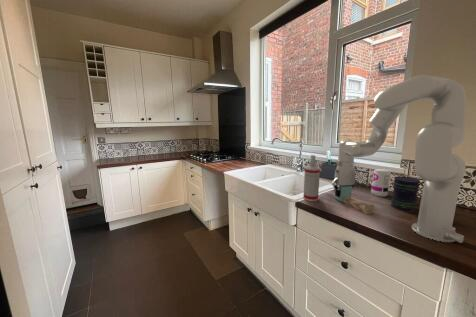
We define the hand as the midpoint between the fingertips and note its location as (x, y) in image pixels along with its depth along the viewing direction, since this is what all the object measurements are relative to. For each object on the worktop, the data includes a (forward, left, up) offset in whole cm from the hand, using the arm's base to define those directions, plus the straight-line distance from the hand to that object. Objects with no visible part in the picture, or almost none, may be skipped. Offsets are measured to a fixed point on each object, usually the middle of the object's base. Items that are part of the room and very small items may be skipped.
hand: (342, 195), depth 114 cm
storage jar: (-16, -22, -3) cm, 27 cm away
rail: (-6, 0, -3) cm, 7 cm away
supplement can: (+2, -27, -3) cm, 27 cm away
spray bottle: (+6, +16, -3) cm, 17 cm away
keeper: (0, 0, -2) cm, 2 cm away
